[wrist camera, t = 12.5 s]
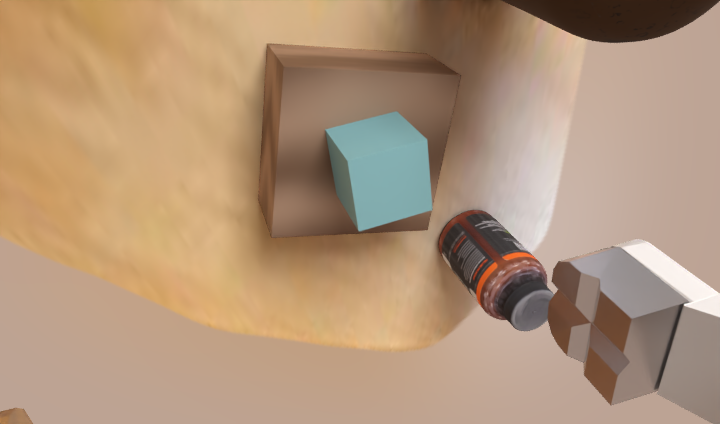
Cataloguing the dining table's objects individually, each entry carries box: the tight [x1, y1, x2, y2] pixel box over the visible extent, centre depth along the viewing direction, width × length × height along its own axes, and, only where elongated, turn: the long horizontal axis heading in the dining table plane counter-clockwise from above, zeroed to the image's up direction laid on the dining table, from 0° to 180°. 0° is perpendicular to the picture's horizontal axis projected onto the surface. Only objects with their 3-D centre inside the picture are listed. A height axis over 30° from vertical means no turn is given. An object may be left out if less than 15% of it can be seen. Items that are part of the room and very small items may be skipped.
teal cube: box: [325, 111, 432, 231], centre depth 37 cm, size 5×5×5 cm
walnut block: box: [258, 44, 461, 238], centre depth 42 cm, size 12×12×6 cm
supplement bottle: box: [439, 210, 554, 331], centre depth 48 cm, size 6×6×11 cm
